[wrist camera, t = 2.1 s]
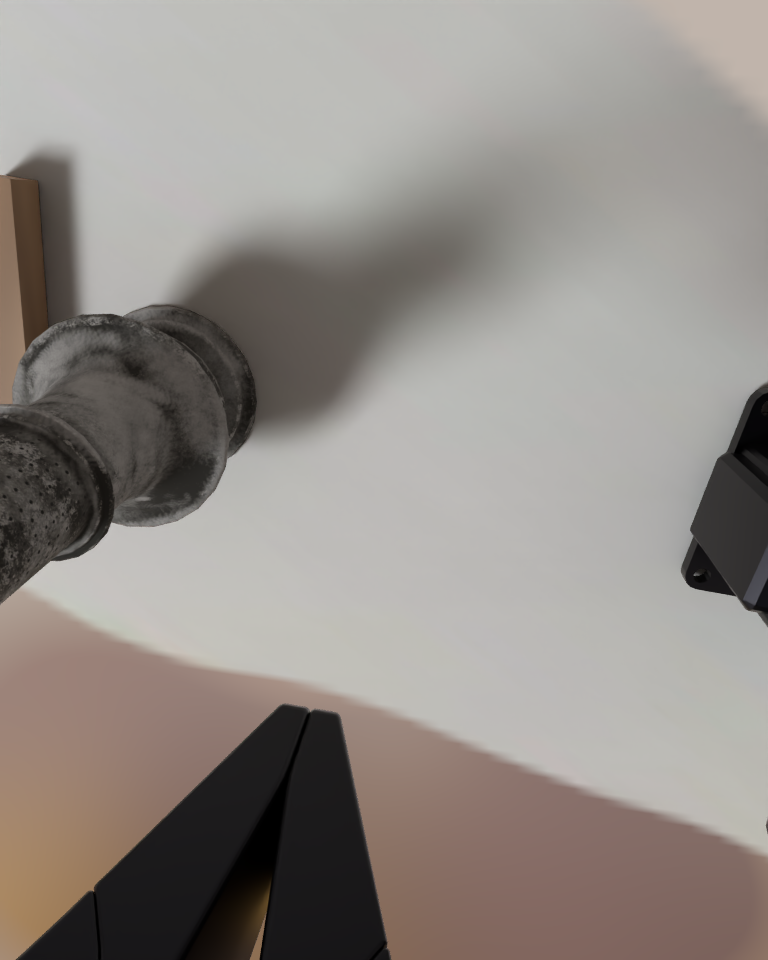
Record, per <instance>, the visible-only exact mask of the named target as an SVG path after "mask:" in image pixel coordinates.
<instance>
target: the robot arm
mask: <svg viewBox="0 0 768 960" xmlns="http://www.w3.org/2000/svg"><path fill="white" fill-rule="evenodd" d="M767 401H768V387H766V388H762V389H759V390H757V391H755V392H754V393H753V394H752V395H751V396H750V397H749V399H748V401H747V403H746V405H745V408H744V410H743V413H742V415H741V418H740V420H739V423H738V425H737V428H736V430H735V433H734V435H733V438H732V441H731V443H730V446H729V448H728V451H727V452H726V453H725V454H723V455H722V456H720V457H719V458H718V459H717V461H716V464H715V467H714V469H713V472H712V474H711V477H710V479H709V482H708V485H707V487H706V490H705V492H704V495H703V497H702V500H701V502H700V505H699V508H698V510H697V513H696V515H695V518H694V520H693V523H692V525H691V529H690V531H691V533H692V534H693V536H694V537H693V539H692V542H691V544H690V547H689V549H688V552H687V554H686V557H685V559H684V562H683V564H682V568H681V573H682V576H683V578H684V579H685V581H686V583H687V584H688V585H689V586H690V587H692V588H695V589H699V590H704V591H710V592H715V593H721V594H726V595H732V596H737V598H738V599H739V601H740V602H741V603H742V605H743V606H744V608H745V609H747V610H748V611H753V612H757V613H758V614H759V616H760V617H761V618H762V620H763V621H764V623H765V624H766V625H767V627H768V412H767V413H762V412H761V409H762V406H763V404H764V403H765V402H767ZM699 569H706V571H705V572H704V573H703V574H702V575H700V576H694V573H695V572H696V571H697V570H699ZM766 828H767V833H768V819H767V823H766ZM266 912H267V913H266ZM265 915H266V920H265V928H264V934H263V940H262V947H261V953H260V960H391V955H390V951H389V949H388V948H387V938H386V933H385V928H384V923H383V919H382V914H381V909H380V905H379V899H378V894H377V890H376V885H375V880H374V875H373V871H372V866H371V861H370V856H369V851H368V846H367V841H366V837H365V832H364V827H363V822H362V817H361V813H360V808H359V803H358V798H357V793H356V789H355V784H354V779H353V775H352V769H351V764H350V760H349V755H348V750H347V745H346V740H345V735H344V731H343V726H342V721H341V717H340V715H339V714H338V713H336V712H332V711H326V710H320V709H314V710H312V711H311V712H310V710H309V709H308V708H307V707H303V706H297V705H291V704H282V705H280V706H279V707H278V708H277V709H276V710H275V711H274V712H273V713H271V714H270V715H269V716H268V717H267V718H266V719H265V720H264V721H263V722H262V723H261V724H260V725H259V726H258V727H257V728H256V729H255V730H254V731H253V732H252V733H251V734H250V735H249V736H248V737H247V738H246V739H245V740H244V741H243V742H242V743H241V744H240V745H239V746H238V747H237V748H235V750H233V751H232V752H231V753H230V754H229V755H228V756H227V757H226V758H225V759H224V760H223V761H222V762H221V763H220V764H219V765H218V766H217V767H216V768H215V769H214V770H213V771H212V772H211V773H210V774H209V775H208V776H207V777H206V778H205V779H204V780H203V781H202V782H201V783H199V784H198V785H197V786H196V787H195V788H194V789H193V790H192V791H191V792H190V793H189V794H188V795H187V796H186V797H185V798H184V799H183V800H182V801H181V802H180V803H179V804H178V805H177V806H176V807H175V808H174V809H173V810H172V811H171V812H170V813H169V814H168V815H167V816H166V817H165V818H164V819H162V820H161V821H160V822H159V823H158V824H157V825H156V826H155V827H154V828H153V829H152V830H151V831H150V832H149V833H148V834H147V835H146V836H145V837H144V838H143V839H142V840H141V841H140V842H139V843H138V844H137V845H136V846H135V847H134V848H133V849H132V850H131V851H130V852H129V853H128V854H127V855H125V856H124V858H122V859H121V860H120V861H119V862H118V863H117V864H116V865H115V866H114V867H113V868H112V869H111V870H110V871H109V872H108V873H107V874H106V875H105V876H104V877H103V878H102V879H101V880H100V881H99V882H98V883H97V884H96V885H95V887H94V892H93V891H88V892H87V893H86V894H85V895H84V896H83V897H82V898H81V899H80V900H79V901H78V902H77V903H76V904H75V905H74V906H73V907H72V908H71V909H70V910H69V911H68V912H67V913H65V915H63V916H62V917H61V918H60V919H59V920H58V921H57V922H56V923H55V924H54V925H53V926H52V927H51V928H50V929H49V930H47V931H46V932H45V933H44V934H43V935H42V936H41V937H40V938H39V939H38V940H37V941H35V942H34V943H33V944H32V945H31V946H30V947H29V948H28V949H27V950H26V951H25V952H24V953H23V954H21V955H20V956H19V957H18V958H17V959H16V960H250V957H251V954H252V952H253V948H254V946H255V943H256V940H257V937H258V934H259V932H260V929H261V926H262V923H263V920H264V917H265Z"/></svg>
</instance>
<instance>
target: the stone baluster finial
mask: <svg viewBox="0 0 768 960" xmlns="http://www.w3.org/2000/svg"><path fill="white" fill-rule="evenodd" d="M12 402H13V404H0V604H1V603H3V602H4V601H5V600H6V599H7V598H8V597H9V596H11V595H12V594H13V593H14V592H15V591H16V590H18V589H19V588H20V587H21V586H22V585H23V584H24V583H26V582H27V581H28V580H29V579H30V578H31V577H33V576H34V575H35V574H36V573H37V572H38V571H39V570H41V569H42V568H43V567H44V566H45V565H46V564H48V563H49V562H50V561H62V560H67V559H71V558H75V557H79V556H80V555H82V554H84V553H86V552H87V551H89V550H91V549H92V548H94V547H95V546H96V545H97V544H98V543H99V542H100V540H101V539H102V538H103V537H104V536H105V535H106V533H107V532H108V529H109V527H110V524H111V522H112V523H116V524H120V525H124V526H134V527H155V526H159V525H163V524H167V523H171V522H175V521H178V520H180V519H181V518H183V517H185V516H186V515H188V514H190V513H192V512H193V511H195V510H197V509H198V508H199V507H200V506H201V505H202V504H203V503H204V502H205V501H206V499H207V498H208V497H209V496H210V495H211V494H212V493H213V492H214V491H215V489H216V487H217V485H218V483H219V481H220V479H221V476H222V474H223V472H224V470H225V467H226V462H227V458H229V457H230V456H232V455H233V454H234V453H235V451H236V450H237V449H238V448H239V447H240V446H241V445H242V444H243V442H244V441H245V440H246V438H247V436H248V434H249V431H250V429H251V427H252V425H253V423H254V417H255V410H256V403H257V401H256V393H255V385H254V379H253V377H252V374H251V371H250V369H249V366H248V364H247V361H246V359H245V357H244V356H243V354H242V353H241V352H240V350H239V349H238V347H237V346H236V344H235V343H234V341H233V340H232V339H231V338H230V337H229V336H228V335H227V334H226V333H224V332H223V331H222V330H221V329H220V328H219V327H218V326H217V325H216V324H214V323H213V322H211V321H209V320H207V319H205V318H204V317H202V316H200V315H198V314H196V313H194V312H192V311H188V310H184V309H180V308H176V307H172V306H160V307H146V308H143V309H140V310H137V311H134V312H131V313H128V314H126V315H125V316H123V317H122V316H118V315H114V314H91V315H80V316H77V317H74V318H71V319H68V320H65V321H62V322H59V323H56V324H54V325H52V326H51V327H50V328H49V329H47V330H46V331H45V332H43V333H42V334H41V335H39V336H38V337H37V338H36V339H34V340H33V341H32V343H31V344H30V346H29V347H28V349H27V351H26V352H25V354H24V355H23V357H22V358H21V360H20V361H19V364H18V368H17V371H16V375H15V379H14V383H13V386H12Z"/></svg>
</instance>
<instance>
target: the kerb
mask: <svg viewBox="0 0 768 960" xmlns="http://www.w3.org/2000/svg"><path fill="white" fill-rule="evenodd" d="M47 329H48V315H47V302H46V288H45V274H44V260H43V246H42V232H41V218H40V204H39V191H38V181H36V180H30V179H24V178H17V177H11V176H5V175H0V404H13V402H12V386H13V383H14V379H15V375H16V371H17V368H18V364H19V361H20V360H21V358H22V357H23V355H24V354H25V352H26V351H27V349H28V347H29V346H30V344H31V343H32V341H33V340H34V339H36V338H37V337H38V336H39V335H41V334H42V333H43V332H45V331H46V330H47Z"/></svg>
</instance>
